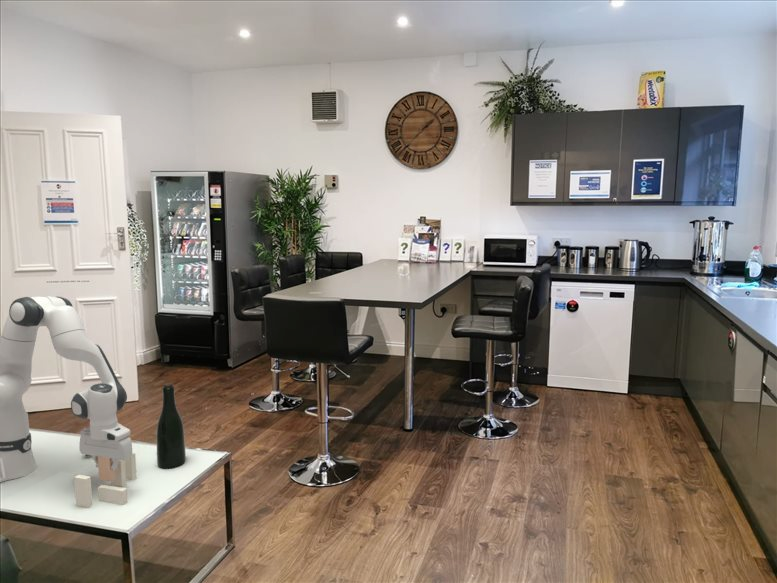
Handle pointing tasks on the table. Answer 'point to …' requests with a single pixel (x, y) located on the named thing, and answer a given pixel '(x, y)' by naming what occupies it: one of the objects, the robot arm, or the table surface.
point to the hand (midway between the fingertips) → (106, 468)
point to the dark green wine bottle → (170, 432)
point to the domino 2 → (105, 469)
